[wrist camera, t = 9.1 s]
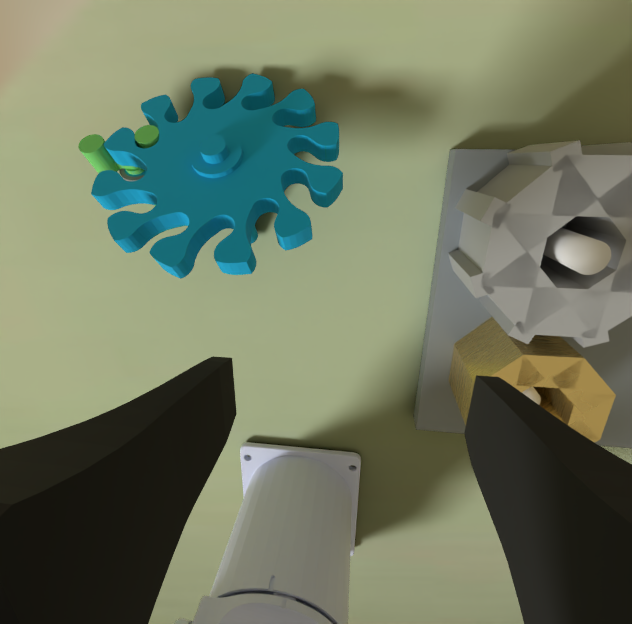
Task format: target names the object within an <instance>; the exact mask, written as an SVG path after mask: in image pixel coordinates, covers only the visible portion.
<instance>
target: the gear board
mask: <svg viewBox="0 0 632 624" xmlns="http://www.w3.org/2000/svg"><path fill="white" fill-rule="evenodd" d="M491 317H493V318H494V319H495V320H496V321H497V323H498V324H499V325H500V326H501V328H502V329H503V330H504V331H505V332H506V334H507V335H509V336H511V337H513V338H515V339H517V340H520V341H522V342H524V343H526V344H529V342H530V341H531V340H532V338H533V337H534V336H535V335H548V336H560V337H561V338H562V339H564V340H565V341H566V342H567V343H568V344H569V345H570V346H571V347H573V348H574V349H575V350H576V351H577V352H578V353H579V354H580V355H581V356H583V357H584V358H585V359H586V361H587V362H588V363H589V364H590V365H591V366H592V368H593V369H594V370H595V371H596V372H597V373H598V375H599V376H600V377H601V378H602V379H603V380H604V382H605V383H606V384H607V385H608V386H609V387H610V389H611V390H612V391H613V392H614V393H615V394H616V396H615V399H614V402H613V405H612V408H611V410H610V413H609V416H608V419H607V422H606V424H605V427H604V430H603V433H602V436H601V438H600V440H599V441H597V442H595V443H596V444H597V445H600V446H611V447H622V448H632V142H625V143H611V144H596V145H582V146H581V143H580V140H577V141H566V142H556V143H545V144H535V145H528V146H525V147H523V148H520V149H518V150H505V149H452V150H450V153H449V161H448V168H447V175H446V183H445V190H444V197H443V205H442V212H441V219H440V226H439V234H438V241H437V248H436V256H435V263H434V270H433V278H432V285H431V292H430V300H429V307H428V314H427V322H426V329H425V336H424V343H423V351H422V358H421V365H420V373H419V380H418V387H417V395H416V402H415V409H414V422H415V427H416V430H427V431H439V432H450V433H462V434H464V432H465V427H466V425H465V423H464V420H463V417H462V415H461V412H460V410H459V407H458V404H457V402H456V399H455V397H454V394H453V392H452V389H451V386H450V384H449V374H450V368H451V361H452V355H453V348H454V343H456V342H457V341H459V340H460V339H461V338H463V337H464V336H466V335H467V334H468V333H470V332H471V331H472V330H474V329H475V328H477V327H478V326H479V325H481V324H482V323H484V322H485V321H486V320H488V319H489V318H491ZM522 393H523V394H524V395H526V396H527V397H529V398H530V399H531V400H533V401H534V402H535V403H537V404H538V405H539V404H540V402H541V398H540V395H539V394H538V393H537V391H536V390H535V389H534V387H530V388H528V389H527V390H525V391H523V392H522Z"/></svg>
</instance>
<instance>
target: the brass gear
mask: <svg viewBox="0 0 632 624" xmlns="http://www.w3.org/2000/svg"><path fill="white" fill-rule="evenodd" d="M476 375H478V376H493V377H499V378H501V379H503V380H504V381H506V382H507V383H509V384H510V385H512V386H513V387H515V388H516V389H517V390H519V391H520V392H523V391H525V390H527V389H528V388H530V387H534V389H535V390H536V391H537V393H538V394H539V395H540V398H541V402H540V404H539V405H540V406H541V407H542V408H544V409H545V410H547V411H548V412H549V413H551V414H552V415H554V416H555V417H556V418H558V419H559V420H561V421H562V422H564V423H565V424H567V425H568V426H570V427H571V428H573V429H574V430H576V431H577V432H579V433H580V434H582V435H583V436H585V437H586V438H588V439H590V440H591V441H593V442H594V443H595V442H597V441H599V440H600V438H601V436H602V433H603V430H604V427H605V424H606V422H607V419H608V416H609V413H610V410H611V408H612V405H613V402H614V399H615V396H616V394H615V393H614V392H613V391H612V390H611V389H610V387H609V386H608V385H607V384H606V383H605V382H604V380H603V379H602V378H601V377H600V376H599V375H598V373H597V372H596V371H595V370H594V369H593V368H592V366H591V365H590V364H589V363H588V362H587V361H586V359H585V358H584V357H583V356H581V355H580V354H579V353H578V352H577V351H576V350H575V349H574V348H573V347H571V346H570V345H569V344H568V343H567V342H566V341H565V340H564V339H562V338H561V337H560V336H548V335H535V336H534V337H533V338H532V340H531V341H530V342H529V344H526V343H524V342H522V341H520V340H517V339H515V338H513V337H511V336H509V335H507V334H506V332H505V331H504V330H503V329H502V328H501V326H500V325H499V324H498V323H497V321H496V320H495V319H494V318H493V317H491V318H489V319H488V320H486V321H485V322H484V323H482V324H481V325H479V326H478V327H477V328H475V329H474V330H472V331H471V332H470V333H468V334H467V335H466V336H464V337H463V338H461V339H460V340H459V341H457V342H456V343H454V348H453V355H452V361H451V368H450V374H449V384H450V386H451V389H452V392H453V394H454V397H455V399H456V402H457V404H458V407H459V410H460V412H461V415H462V417H463V420H464V423H465V425H466V422H467V418H468V413H469V408H470V403H471V398H472V393H473V388H474V383H475V378H476Z"/></svg>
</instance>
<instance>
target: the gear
mask: <svg viewBox="0 0 632 624" xmlns="http://www.w3.org/2000/svg"><path fill="white" fill-rule="evenodd" d="M191 90H192V92H193V95H194V103H193V106H192V108H191V110H190V112H189V114H188V115H187V117H186V118H185V119H184V120H182V121H180V122H177V121H178V115H177V113H176V111H175V108H174V106H173V104H172V102H171V100H170V98H169V97H168V96H167V95H161V96H158V97H155V98H152V99H150V100H148V101H146V102H144V103H142V104H141V109H142V111H143V113H144V115H145V117H146V118H147V120H148V122H149V124H150V125H146V126H143V127H141V128H139V129H138V130H137V131H136V133H135V134H134V132H133V131H132V130H131V129H129V128H121V129H119V130H117V131H116V132H115V133H114V134H112V135H111V136H110V137H109V138H108V139H107V141H106V142H105V141H104V139H103V138H102V137H101V136H100V135H96V134H94V135H89V136H86V137H85V138H83V139H82V140H81V141H80V143H79V150H80V151H81V152H82V153H83V155H84V156H85V157H86V158H87V160H88V161H89V162H90V163H91V165H92V166H93V167H94V168H95V169H96V171H97V172H98V173H99V174H98V175H97V177H96V179H95V181H94V184H93V187H92V192H91V194H92V195H93V196H94V197H95V199H96V200H97V201H98V202H99V203H100V204H101V205H102V206H103V207H104V208H105V209H108V210H116V209H119V208H122V207H124V206H128V205H131V204H138V203H146V204H152V205H155V207H154V208H153V209H152V210H151V211H149V212H147V213H143V214H139V213H134V212H129V211H121V212H117V213H115V214H113V215H111V216H110V217H109V218H108V229H109V231H110V234H111V236H112V237H113V239H114V241H115V242H116V243H117V244H118V245H119V246H120V247H121V248H122V249H123V250H124V251H125V252H126V253H131V252H135V251H137V250H139V249H140V248H142V247H143V246H144V245H145V244H146V243H147V242H148V241H149V240H150V239H152V238H153V237H154V236H156V235H158V234H159V233H161V232H164V231H166V230H169V229H172V228H176V227H181V226H188V228H187V229H186V230H185V231H184V232H182V233H181V234H178V235H174V236H170V237H166V238H163V239H161V240H159V241H157V242H156V243H155V244H154V245H153V246H152V248H151V250H150V254H151V255H152V257H153V258H154V259H155V260H156V261H157V262H158V263H159V265H160V266H161V267H162V268H163V269H164V270H165V271H167V272H168V273H170V274H172V275H174V276H176V277H178V278H183V277H185V276H187V275H188V274H189V273H190V272H191V271H192V269H193V267H194V263H195V259H196V256H197V254H198V252H199V251H200V249H201V247H202V246H203V245H204V244H205V243H206V242H207V241H208V240H209V239H210V238H211V237H213V236H214V235H215V234H217V233H218V232H219V231H221V230H223V229H226V228H232V229H234V230H233V232H232V233H231V234H230V235H229V236H227V237H226V238H225V239H223V240H222V241H221V242H220V243H219V244H218V245H217V246H216V248H215V251H214V258H215V261H216V262H217V264H218V266H219V267H220V269H221V271H222V272H223V273H226V274H232V275H243V274H252V272H253V271H254V269H255V267H256V258H255V256H254V253H253V251H252V248H251V243H253V242H255V241H256V239H257V237H258V233H257V230H256V228H255V224H256V221H257V219H258V218H259V217H260V216H261V215H262V214H264V213H268V212H274V213H277V214H278V215H277V217H276V219H275V223H274V228H275V232H276V235H277V239H278V243H279V245H280V246H281V247H282V248H283V249H284V250H290V249H294V248H296V247H299V246H301V245H303V244H305V243H306V242H308V241H309V240H311V239H312V228H311V221H310V218H309V216H308V215H307V214H306V213H305V212H303V211H301V210H300V209H298V208H296V207H295V206H294V205H292V204H291V203H290V201H289V200H288V199H287V197H286V196H285V194H284V191H285V189H286V188H287V187H288V186H289V185H292V184H295V183H300V184H303V185H305V186H307V188H308V189H309V192H310V195H311V198H312V201H313V202H314V203H315V204H316V205H318V206H321V207H329V206H330V205H331V204H332V203H333V202H334V201H335V200H336V199H337V197H338V196H339V194H340V192H341V191H342V189H343V173H342V172H341V171H340V170H339V169H338V168H336V167H333V166H320V165H314V164H310V163H307V162H305V161H303V160H301V159H299V158H298V157H296V156H295V155H294V154H295V153H297V152H301V151H305V152H309V153H311V154H312V155H313V156H315V157H316V158H317V159H319V160H321V161H325V162H331V161H335V160H337V158H338V155H339V128H338V124H337V123H335V122H324V123H321V124H318V125H315V126H312V127H307V128H289V127H283V126H285V125H292V126H297V127H306V126H310V125H312V124H313V123H315V122H316V114H315V103H314V100H313V98H312V96H311V95H310V94H309V93H308V92H307V91H306V90H305V89H297V90H295V91H292V92H291V93H290V94H289V95H288V96H287V97H286V98H284V99H283V100H282V101H280V102H278V103H277V104H275V105H272V104H273V103H274V101H275V96H274V90H273V85H272V81H271V80H269V79H268V78H266V77H263V76H260V75H257V74H253V73H252V74H250V75H248V76H247V77H246V78H245V79H244V80H243V83H242V87H241V89H240V91H239V92H238V94H237V95H236V96H235V97H234V98H233V99H232V100H230V101H229V102H228V103H226V104H225V105H223V104H224V102H225V96H224V93H223V90H222V87H221V83H220V80H219V79H218V78H197V79H194V80H193V81H192V83H191ZM222 105H223V106H222ZM271 105H272V106H271ZM221 106H222V107H221ZM269 106H270V107H269ZM118 170H119V171H120V174H121V176H122V177H123V178H124V179H123V178H122V177H121V176H120V175H119V173H117V171H118Z"/></svg>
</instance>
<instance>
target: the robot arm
mask: <svg viewBox="0 0 632 624" xmlns="http://www.w3.org/2000/svg"><path fill="white" fill-rule="evenodd" d="M235 416H236V402H235V390H234V378H233V366H232V358H225V357H211V358H209V359H207V360H205V361H203V362H201V363H199V364H197V365H195V366H194V367H192V368H190V369H188V370H187V371H185V372H183V373H182V374H180V375H178V376H176V377H175V378H173V379H171V380H169V381H168V382H166V383H164V384H162V385H160V386H159V387H157V388H155V389H153V390H151V391H149V392H147V393H145V394H143V395H141V396H139V397H137V398H136V399H134V400H132V401H130V402H128V403H126V404H124V405H121V406H119V407H117V408H115V409H113V410H111V411H108V412H106V413H103V414H101V415H99V416H96V417H94V418H92V419H89V420H87V421H84V422H82V423H79V424H76V425H73V426H70V427H67V428H65V429H62V430H59V431H56V432H53V433H51V434H48V435H45V436H42V437H39V438H36V439H32V440H29V441H26V442H23V443H19V444H16V445H12V446H9V447H5V448H2V449H0V624H148V622H149V619H150V617H151V614H152V611H153V608H154V605H155V602H156V599H157V597H158V594H159V591H160V589H161V586H162V583H163V581H164V578H165V575H166V572H167V570H168V567H169V564H170V562H171V559H172V557H173V554H174V551H175V549H176V546H177V544H178V541H179V539H180V536H181V534H182V531H183V529H184V526H185V524H186V522H187V519H188V517H189V515H190V513H191V511H192V509H193V507H194V505H195V503H196V501H197V499H198V497H199V495H200V493H201V491H202V489H203V487H204V485H205V483H206V481H207V479H208V477H209V476H210V474H211V472H212V470H213V468H214V466H215V464H216V462H217V460H218V458H219V456H220V454H221V452H222V450H223V448H224V446H225V444H226V442H227V439H228V436H229V434H230V431H231V428H232V425H233V422H234V419H235ZM464 434H465V439H466V443H467V448H468V452H469V456H470V460H471V464H472V467H473V470H474V473H475V476H476V478H477V481H478V484H479V486H480V489H481V492H482V494H483V497H484V499H485V502H486V505H487V507H488V510H489V512H490V515H491V518H492V520H493V523H494V525H495V528H496V531H497V533H498V536H499V538H500V541H501V544H502V547H503V550H504V553H505V556H506V558H507V561H508V565H509V568H510V572H511V576H512V579H513V583H514V586H515V590H516V594H517V597H518V601H519V605H520V608H521V612H522V616H523V620H524V624H632V465H631V464H630V463H628V462H626V461H624V460H623V459H621V458H619V457H617V456H615V455H614V454H612V453H610V452H609V451H607V450H605V449H604V448H602V447H601V446H599V445H597V444H596V443H594V442H593V441H591V440H590V439H588V438H586V437H585V436H583V435H582V434H580V433H579V432H577V431H576V430H574V429H573V428H571V427H570V426H568V425H567V424H565V423H564V422H562V421H561V420H559V419H558V418H556V417H555V416H554V415H552V414H551V413H549V412H548V411H547V410H545V409H544V408H542V407H541V406H540V405H538V404H537V403H535V402H534V401H533V400H531V399H530V398H529V397H527V396H526V395H524V394H523V393H522V392H520V391H519V390H517V389H516V388H515V387H513V386H512V385H510V384H509V383H507V382H506V381H504V380H503V379H501V378H499V377H493V376H478V375H476V378H475V383H474V388H473V393H472V398H471V403H470V408H469V413H468V418H467V422H466V427H465V432H464ZM247 455H250V456H251V457H249V456H247ZM240 456H241V469H242V481H243V493H244V499H243V502H242V505H241V507H240V510H239V513H238V516H237V519H236V521H235V524H234V527H233V530H232V533H231V536H230V538H229V541H228V544H227V547H226V550H225V553H224V555H223V558H222V561H221V564H220V567H219V569H218V572H217V575H216V578H215V581H214V584H213V586H212V589H211V592H210V595H209V596H202V598H201V601H200V604H199V606H198V609H197V612H196V615H195V617H194V620H193V623H192V621H191V620H187V619H184V618H179V619H178V620H177V621H175V623H174V624H348V607H349V577H350V556H352V555H353V554H354V547H355V534H356V520H357V507H358V494H359V481H360V468H361V457H360V455H359V454H357V453H354V452H344V451H334V450H323V449H313V448H302V447H292V446H281V445H271V444H260V443H250V442H246V443H243V444H242V446H241V448H240ZM351 465H354V466H355V467H351Z"/></svg>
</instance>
